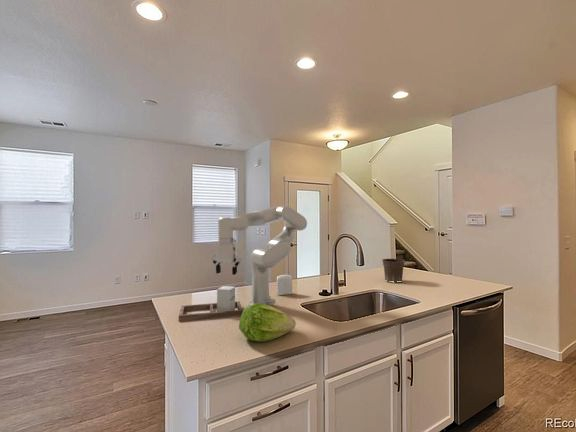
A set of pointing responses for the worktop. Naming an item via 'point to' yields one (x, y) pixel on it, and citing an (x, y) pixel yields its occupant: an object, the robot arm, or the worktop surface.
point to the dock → (207, 315)
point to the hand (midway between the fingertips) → (226, 273)
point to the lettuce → (264, 322)
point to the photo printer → (284, 284)
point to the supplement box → (226, 298)
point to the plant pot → (393, 269)
